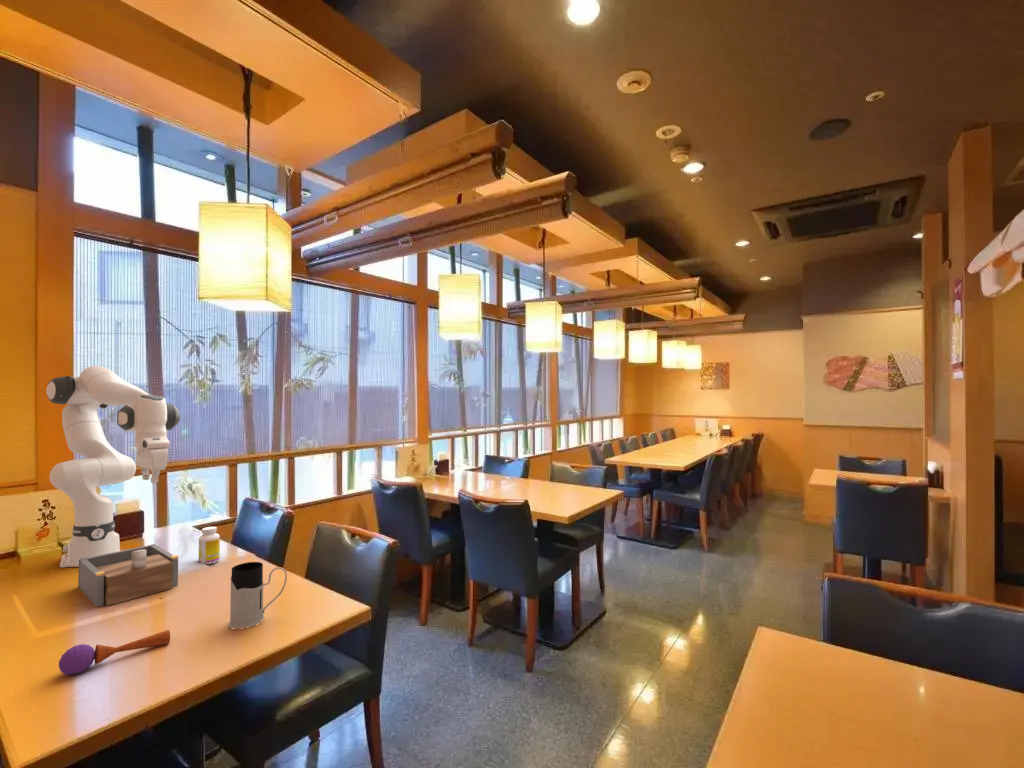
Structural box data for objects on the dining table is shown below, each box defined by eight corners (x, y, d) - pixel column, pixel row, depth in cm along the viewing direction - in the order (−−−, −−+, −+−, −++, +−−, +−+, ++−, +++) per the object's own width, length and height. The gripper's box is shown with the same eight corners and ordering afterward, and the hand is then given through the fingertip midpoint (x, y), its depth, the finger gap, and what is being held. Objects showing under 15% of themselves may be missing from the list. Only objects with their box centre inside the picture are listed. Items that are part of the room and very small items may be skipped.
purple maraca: (173, 631, 117) (62, 658, 102) (169, 654, 118) (58, 684, 103) (167, 619, 121) (59, 643, 106) (163, 642, 121) (55, 669, 107)
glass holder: (231, 617, 133) (232, 563, 133) (287, 609, 138) (288, 557, 138) (225, 632, 125) (225, 574, 125) (285, 622, 130) (285, 567, 130)
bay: (78, 591, 152) (78, 557, 152) (154, 572, 168) (154, 542, 168) (96, 611, 137) (97, 574, 138) (177, 589, 153) (178, 555, 153)
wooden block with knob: (95, 593, 146) (96, 551, 147) (158, 578, 159) (158, 538, 159) (107, 605, 138) (108, 560, 138) (172, 588, 150) (173, 546, 151)
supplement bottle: (223, 560, 181) (224, 525, 181) (210, 566, 174) (211, 530, 175) (207, 559, 182) (207, 525, 182) (193, 565, 175) (194, 530, 175)
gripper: (131, 440, 170) (130, 479, 170) (149, 443, 158) (148, 485, 157) (152, 439, 175) (151, 476, 175) (171, 442, 163) (170, 483, 162)
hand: (150, 481), depth 166 cm, fingers open, 8 cm apart
